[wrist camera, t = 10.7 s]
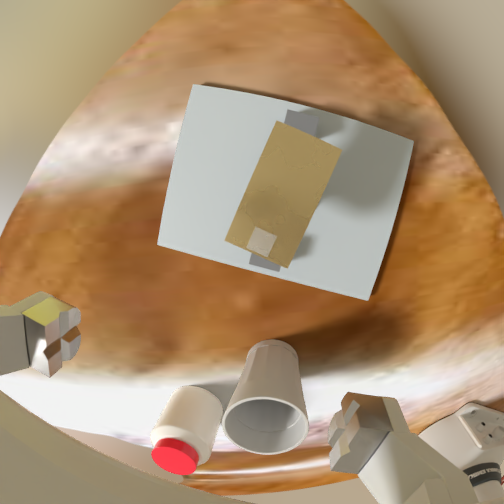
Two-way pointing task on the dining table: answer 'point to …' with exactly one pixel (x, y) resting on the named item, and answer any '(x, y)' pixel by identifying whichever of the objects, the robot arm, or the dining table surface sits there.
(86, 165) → the dining table surface
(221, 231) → the base
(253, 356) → the cup
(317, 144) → the tan parcel with label
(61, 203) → the dining table surface
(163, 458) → the pill bottle
